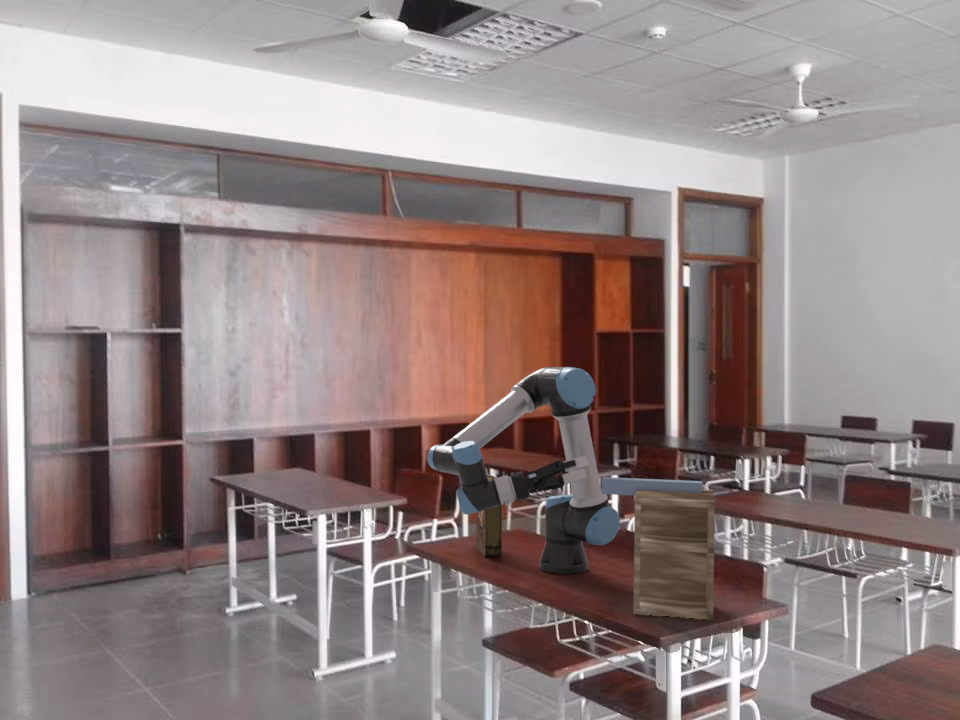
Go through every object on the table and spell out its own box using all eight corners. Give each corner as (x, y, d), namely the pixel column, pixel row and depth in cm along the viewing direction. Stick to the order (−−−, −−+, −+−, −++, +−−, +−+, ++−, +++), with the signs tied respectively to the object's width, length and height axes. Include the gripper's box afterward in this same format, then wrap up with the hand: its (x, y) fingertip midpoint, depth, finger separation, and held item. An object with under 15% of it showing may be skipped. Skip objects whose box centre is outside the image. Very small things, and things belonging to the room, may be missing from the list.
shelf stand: (636, 600, 245) (637, 485, 245) (711, 605, 240) (713, 488, 240) (633, 614, 231) (635, 492, 231) (713, 620, 227) (714, 496, 227)
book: (475, 547, 311) (476, 475, 311) (490, 546, 312) (491, 475, 312) (485, 557, 295) (486, 481, 295) (501, 557, 296) (502, 481, 296)
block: (602, 491, 242) (603, 477, 242) (701, 496, 236) (702, 481, 236) (601, 493, 238) (601, 478, 238) (702, 498, 232) (702, 483, 232)
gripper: (518, 510, 257) (588, 490, 258) (514, 489, 234) (592, 467, 235) (511, 486, 260) (580, 466, 261) (507, 462, 237) (583, 441, 238)
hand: (586, 466), depth 248 cm, fingers open, 13 cm apart
